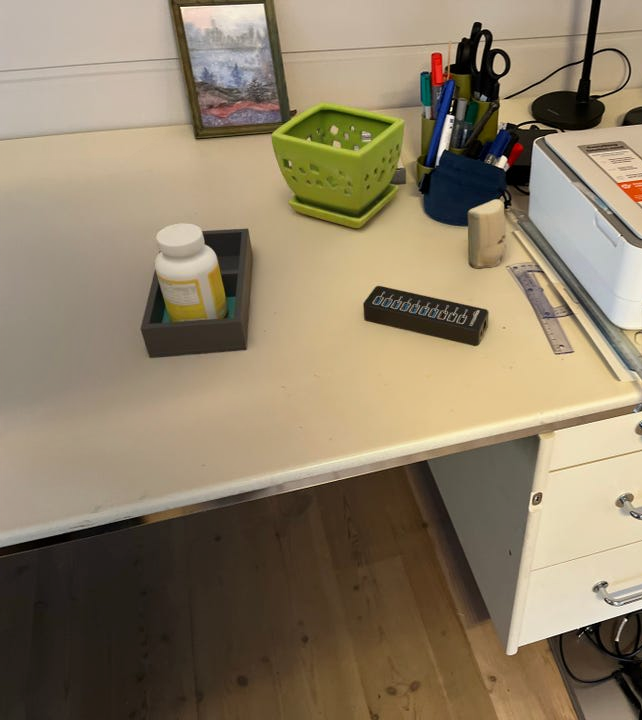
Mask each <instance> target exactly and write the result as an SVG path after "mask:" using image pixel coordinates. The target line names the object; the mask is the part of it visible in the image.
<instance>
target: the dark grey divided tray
mask: <svg viewBox="0 0 642 720" xmlns="http://www.w3.org/2000/svg"><path fill="white" fill-rule="evenodd" d="M202 233H203V237H204V244H205V245H207V246H209V247H210V248H211V249H212V250H213V251H214V252H215V254H216V256H217V260H218V264H219V269H220V274H221V278H222V283H223V287H224V292H225V297H226V301H227V306H228V311H229V315H228V318H222V319H209V320H195V321H182V322H171V321H170V318H169V315H168V311H167V308H166V305H165V301H164V298H163V294H162V291H161V287H160V284H159V280H158V277H157V273H156V269H155V268H154V271H153V276H152V280H151V284H150V288H149V293H148V297H147V301H146V305H145V308H144V309H145V310H144V313H143V317H142V322H141V324H140V333H141V335H142V339H143V342H144V344H145V349H146V351H147V355H148V357H149V359H151V358H163V357H176V356H188V355H199V354H210V353H211V354H212V353H223V352H237V351H247V348H248V347H247V346H248V332H249V331H248V330H249V319H250V317H249V316H250V303H251V288H252V275H253V274H252V272H253V261H254V259H253V258H254V254H253V253H254V252H253V247H252V242H251V237H250V230H249V228H248V227H247V228H230V229H211V230H202ZM160 252H161V251H160V250H159V252H158V254H159V253H160Z"/></svg>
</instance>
